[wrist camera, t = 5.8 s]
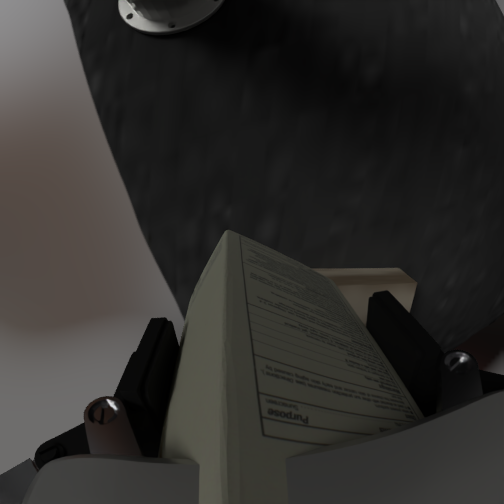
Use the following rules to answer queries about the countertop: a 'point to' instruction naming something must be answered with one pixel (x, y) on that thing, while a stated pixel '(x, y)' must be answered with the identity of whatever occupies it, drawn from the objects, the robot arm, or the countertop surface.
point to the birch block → (371, 286)
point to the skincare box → (272, 374)
